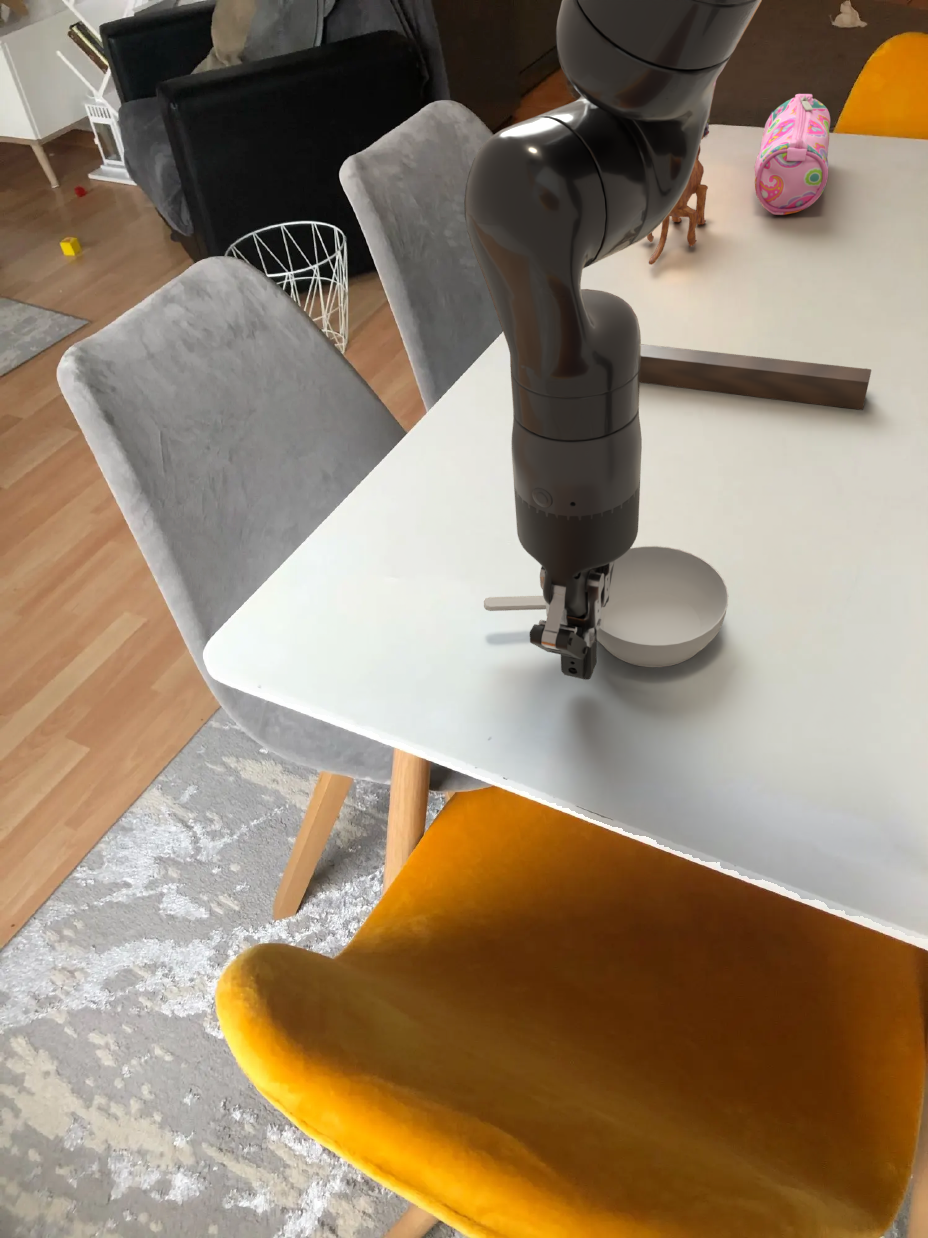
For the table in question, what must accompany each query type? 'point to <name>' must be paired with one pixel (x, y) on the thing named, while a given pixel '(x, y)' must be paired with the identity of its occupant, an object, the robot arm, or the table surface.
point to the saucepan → (652, 606)
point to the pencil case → (793, 156)
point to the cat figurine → (686, 206)
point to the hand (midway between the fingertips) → (579, 669)
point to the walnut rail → (755, 376)
